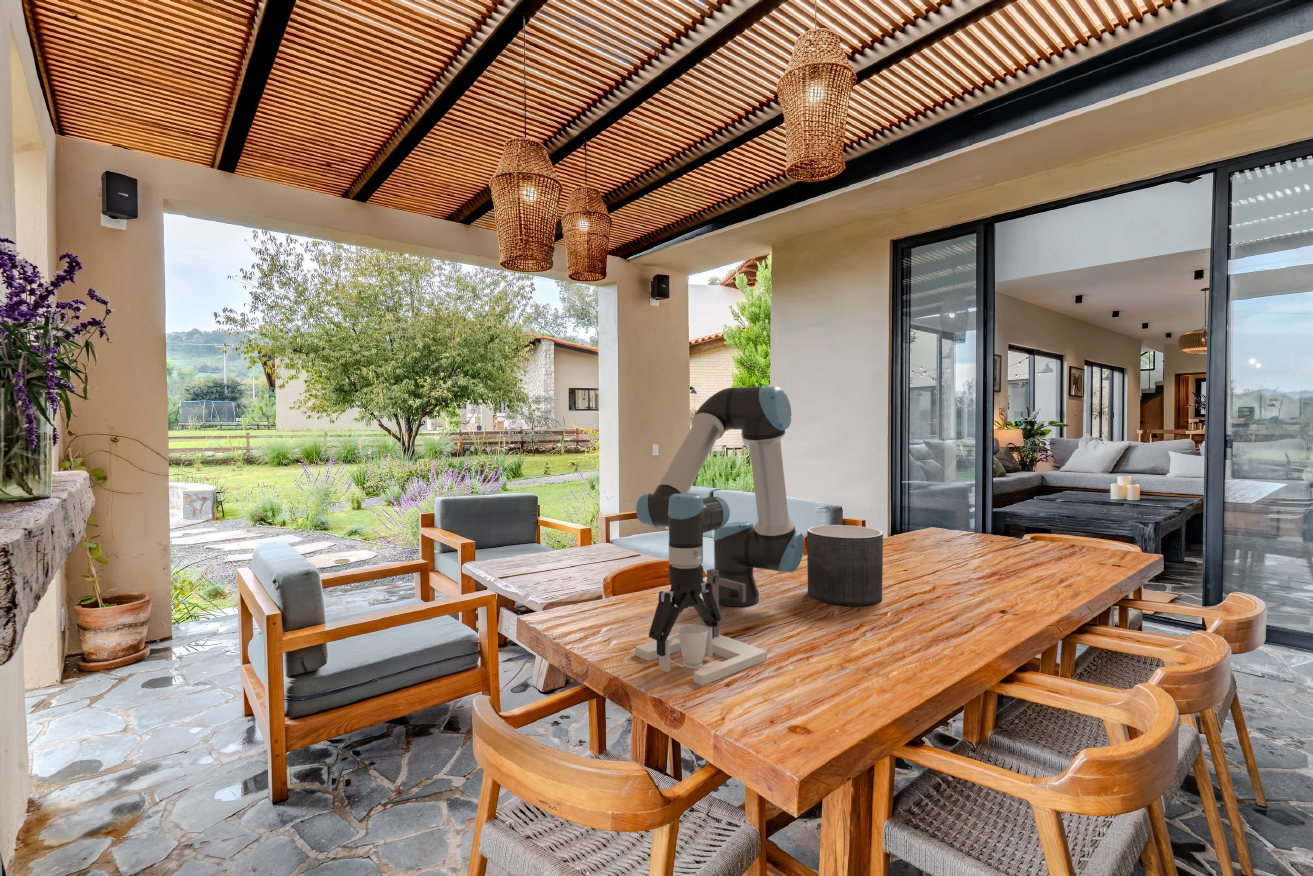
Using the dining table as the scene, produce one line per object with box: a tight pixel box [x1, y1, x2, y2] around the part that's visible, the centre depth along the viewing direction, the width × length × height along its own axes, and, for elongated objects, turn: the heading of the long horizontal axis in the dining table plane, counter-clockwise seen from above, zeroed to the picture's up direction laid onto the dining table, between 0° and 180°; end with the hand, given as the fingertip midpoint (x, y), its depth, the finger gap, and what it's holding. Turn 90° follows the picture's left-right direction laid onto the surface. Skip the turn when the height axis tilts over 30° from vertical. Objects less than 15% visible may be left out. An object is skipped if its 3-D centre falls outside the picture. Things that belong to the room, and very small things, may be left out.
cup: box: [669, 623, 708, 670], centre depth 135 cm, size 7×10×8 cm
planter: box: [806, 524, 884, 607], centre depth 189 cm, size 22×22×20 cm
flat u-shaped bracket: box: [634, 632, 768, 687], centre depth 140 cm, size 22×20×2 cm
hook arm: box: [706, 568, 746, 638], centre depth 145 cm, size 11×2×16 cm, turn 40°
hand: (686, 662), depth 135 cm, fingers open, 12 cm apart
